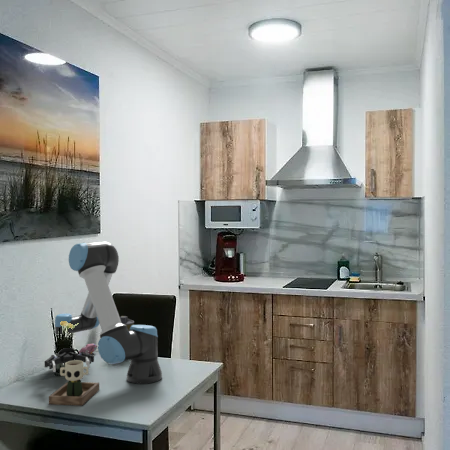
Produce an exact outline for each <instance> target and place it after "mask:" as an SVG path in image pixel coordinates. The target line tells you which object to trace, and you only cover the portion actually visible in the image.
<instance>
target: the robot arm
mask: <svg viewBox="0 0 450 450" xmlns="http://www.w3.org/2000/svg"><path fill="white" fill-rule="evenodd" d="M119 262H120V258H119V252H118V250H117V248H116V246H114V245H113V243H112V244H111V243H110V242H108V241H95V242H93V241H92V242H81V243H80V242H79V243H76V244H73V246H72V247H71V249H70V250H69V254H68V264H69V267H70V269H71V270H72V271H75V272H77V273H78V276H79V278H81V279H84V282H85V284H86V285H85V286H86V288H87V291H88V293H87V296H86V298H85V300H84V304H83V307H82V310H81V313H80V315H75V316H73V315H72V314H71V313H60V314H57V315H56V316H55V319H54V334H58V331H59V328H60V334H62V326H61V325H60V322H61V321H67V322H68V323H71V324H73V325H75V324H77V323H79V324H78V325H77V326H75V328H74V329H73V330H72V329H71V328H69V329H68V332H69V333H72V334H74V333H79V332H85V331H88V330H89V331H90V330H94V329H95V328H96V329H97V328H98V327H99V326H100V329H101V332H100V333H99V337H100V339H98V341H97V349H98V350H97V351H98V354H99V357H100V358H101V359H102V360H103V361H104V362H106V363H107V364H111V365H115V364H121V363H123V362H125V361H128V360H130V363H129V367H128V369H127V373H126V381H127V382H129V383H132V384H140V385H141V384H142V385H143V384H146V385H147V384H152V383H156V382H159V381H160V380H162V378H163V372H162V369H161V365H160V364H159V358H158V356H159V355H158V354H159V353H158V350H159V349H158V345H159V344H158V343H159V341H158V338H159V335H158V329H157V327H156V326H153V325H148V324H147V325H146V324H134V325H132V326H131V327H130V331H128V328H127V326H126V325H125V324H122V323H121V320H120V317H121V316H120V314H119V311H118V309H117V306H116V304H115V301H114V298H113V295H112V292H111V288H110V286H109V285H110V282H111V279H112V277H113V274H116V272H117V270H118V266H119ZM55 350H56V345H55V344H54V351H55ZM77 353H78V352H76V351H75V349H74V346H73V345H72V348H71V347H70V348H63V349H61V350H60V351H59V352H58V356H56V355H54V354H52V355H50V357H48V358H47V359H46V360H45V361H44V368H48V367H49V368H48V369H49V370H52V371H53V373H56V371H57V370H56V366H57V365H59V364H61V365H62V364H64V365H65V363H66V362H68V361H73V360H80V361H83V363H85V365H86V367H88V369H89V368H91V364H92V363H94V362H95V355H92V354H89V353H88V354H86V353H84V352H81V353H80V354H77Z"/></svg>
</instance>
